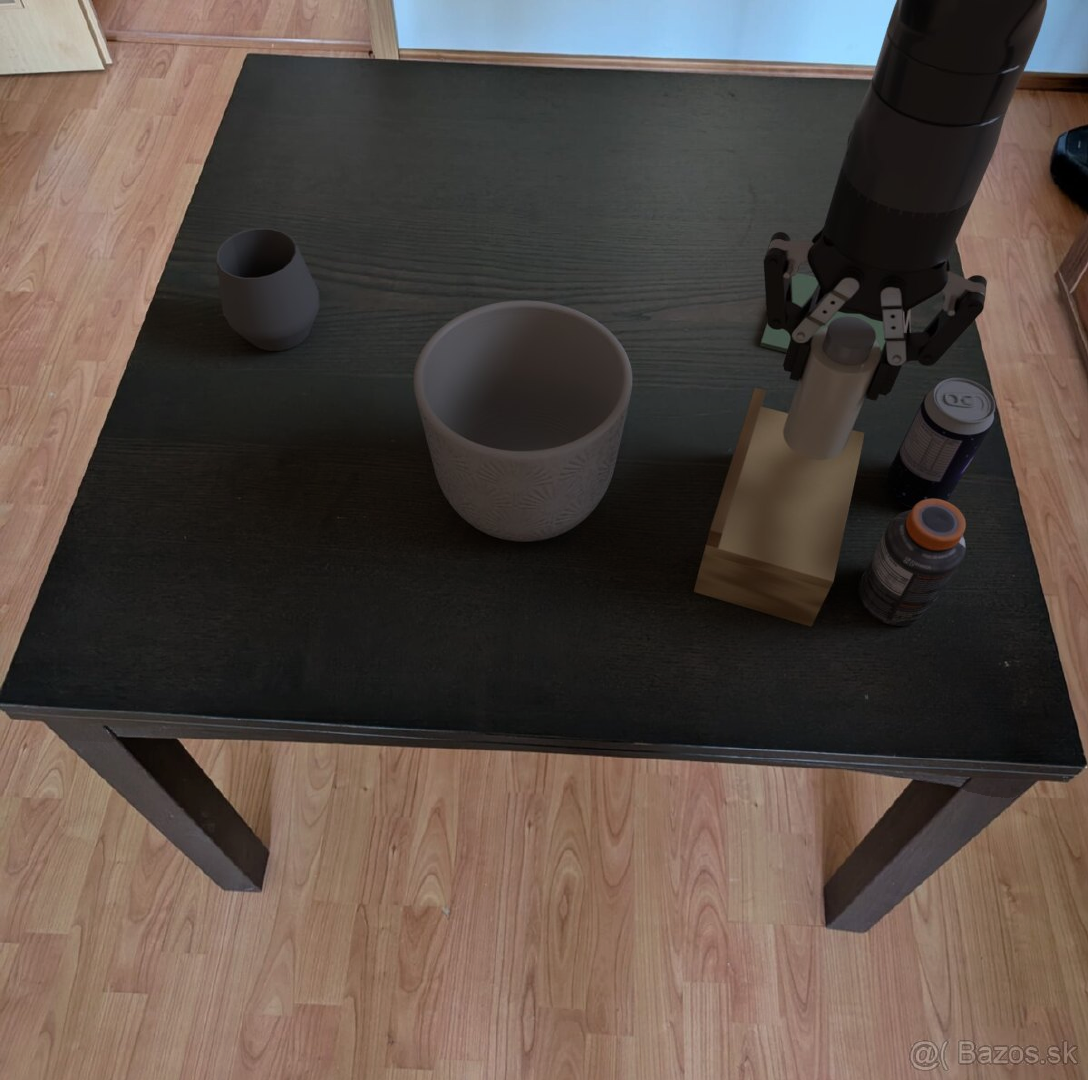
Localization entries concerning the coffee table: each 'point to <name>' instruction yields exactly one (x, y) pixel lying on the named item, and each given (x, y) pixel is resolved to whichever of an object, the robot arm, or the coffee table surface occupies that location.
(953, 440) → the beverage can
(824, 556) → the stepped wooden block
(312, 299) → the cup
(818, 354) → the spice bottle
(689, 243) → the coffee table surface
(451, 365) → the planter
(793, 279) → the mat
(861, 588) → the pill bottle
